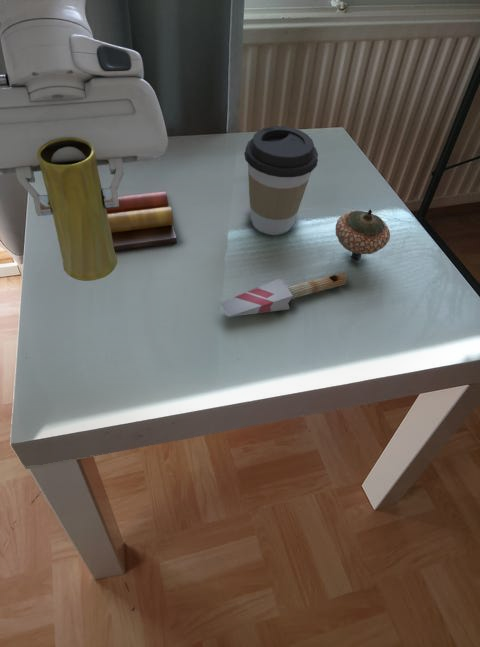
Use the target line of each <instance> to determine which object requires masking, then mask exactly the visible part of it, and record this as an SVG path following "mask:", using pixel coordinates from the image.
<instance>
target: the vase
mask: <svg viewBox="0 0 480 647" xmlns="http://www.w3.org/2000/svg"><path fill="white" fill-rule="evenodd" d="M64 147H74V148H76V149H78V150H80V151H81V152H82V153H83V154H84V155H85V157H86V159H85V160H84V161H76V162H65V163H52V162H51V159H52V157H53V154H54V153H55V152H56V151H57V150H59V149H61V148H64ZM37 157H38V160H39V164H40V168H41V171H40V172H41V175H42V179H43V183H44V186H45V191H46V195H48V198H49V202H50V206H51V210H52V214H51V215H52V218H53V222H54V226H55V227H54V228H55V232H56V235H57V236H56V237H57V240H58V245H59V249H60V254H61V259H62V266H63V271H64V272H65V274H66V275H67V276H69V277H70V278H72V279H74V280H78V281H82V282H91V281H97V280H101V279H104V278H106V277H107V276H109V275H111V273H113V271H115V269H116V268H117V265H118V256H117V253H116V252H115V251H114V247H113V240H112V234H111V230H110V225H109V221H108V216H107V211H106V208H105V204H104V197H103V193H102V189H103V188H102V183H101V182H102V181H101V179H100V174H99V170H98V166H97V163H96V158H95V152H94V147H93V146H92V144H90V143H89V142H88V141H86V140H83V139H79V138H73V137H66V138H59V139H54V140H51V141H48V142H46V143H45V144H43V145H42V146H41V147H40V148H39V150H38V152H37Z"/></svg>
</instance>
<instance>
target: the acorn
mask: <svg viewBox="0 0 480 647" xmlns="http://www.w3.org/2000/svg"><path fill="white" fill-rule="evenodd" d="M335 236H336V237H337V239H338V242H339V243H340V245H341V246H342V247H343V248H344V249H345V250H347V251H348V252H351V255H350V256H349V257H350V259H351V260H353V261H354V262H360V260H361V257H362V255H373V254H374V253H377V252H379V251H380V250H383V248H385V246H387V244H388V243H389V241H390V238H391V232H390V229H389V227H388V225H387V223H386V221H384V220H383V219H382V218H381V217H380V216H378V215H376V214H373V210H372V209H371V208H370V209H369V210H368V211H363V210H350V211H349V212H346V213H343V214H342V215H341V216H339V218H338V219H337V221H336V224H335Z"/></svg>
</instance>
